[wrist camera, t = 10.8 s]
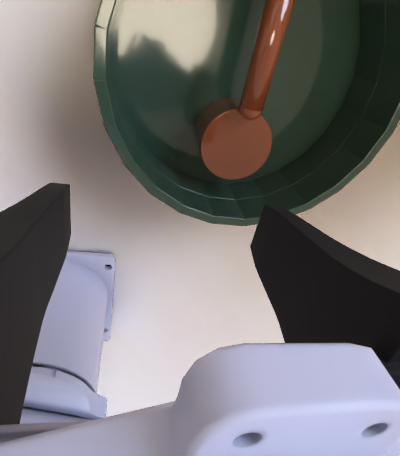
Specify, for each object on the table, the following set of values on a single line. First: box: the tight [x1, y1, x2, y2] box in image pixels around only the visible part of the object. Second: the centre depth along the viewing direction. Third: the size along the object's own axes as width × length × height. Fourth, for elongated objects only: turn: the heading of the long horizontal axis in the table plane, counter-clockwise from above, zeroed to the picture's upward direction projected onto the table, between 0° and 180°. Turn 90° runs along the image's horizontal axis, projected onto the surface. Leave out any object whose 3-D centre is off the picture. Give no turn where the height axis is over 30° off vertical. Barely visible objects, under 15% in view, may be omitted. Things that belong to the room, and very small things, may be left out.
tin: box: [93, 0, 400, 226], centre depth 16 cm, size 15×15×5 cm
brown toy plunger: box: [194, 0, 295, 180], centre depth 16 cm, size 11×4×4 cm, turn 168°
